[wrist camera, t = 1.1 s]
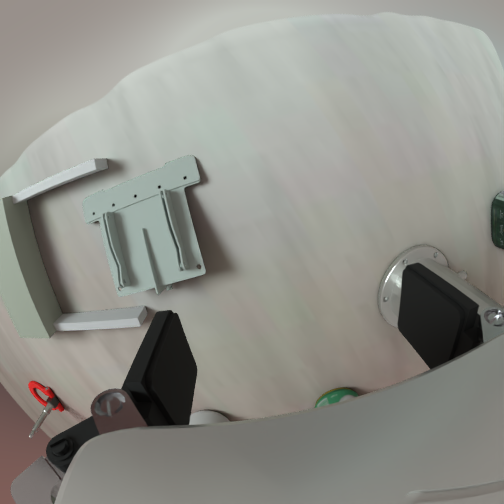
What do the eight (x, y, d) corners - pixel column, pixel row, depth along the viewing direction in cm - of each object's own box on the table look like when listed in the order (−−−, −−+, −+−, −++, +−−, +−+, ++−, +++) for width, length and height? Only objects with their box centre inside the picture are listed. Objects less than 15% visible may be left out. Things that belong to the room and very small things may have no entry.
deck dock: (106, 158, 26) (84, 159, 22) (147, 313, 33) (135, 335, 28) (-3, 206, 27) (-24, 213, 22) (35, 321, 33) (20, 337, 28)
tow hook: (42, 403, 41) (67, 410, 41) (20, 438, 29) (44, 450, 28) (25, 377, 38) (48, 383, 38) (-2, 412, 26) (20, 424, 26)
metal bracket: (224, 279, 26) (100, 311, 26) (231, 271, 32) (123, 300, 32) (187, 140, 25) (73, 190, 26) (200, 156, 31) (98, 196, 32)
